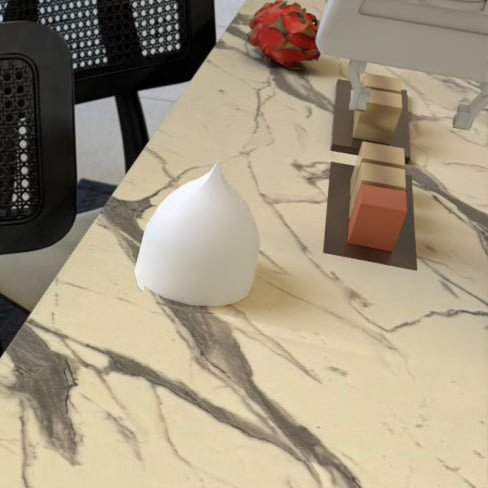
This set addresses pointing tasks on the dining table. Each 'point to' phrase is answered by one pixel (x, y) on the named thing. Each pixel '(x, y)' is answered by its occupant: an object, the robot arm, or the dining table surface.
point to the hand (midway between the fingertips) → (408, 118)
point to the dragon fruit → (284, 33)
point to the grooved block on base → (344, 197)
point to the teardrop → (200, 245)
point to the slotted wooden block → (371, 116)
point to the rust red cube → (377, 217)
